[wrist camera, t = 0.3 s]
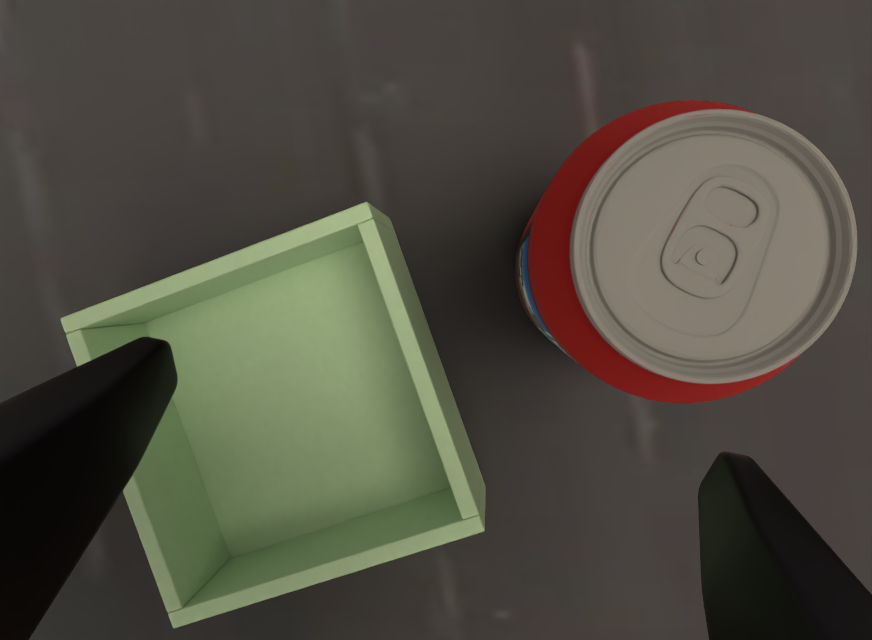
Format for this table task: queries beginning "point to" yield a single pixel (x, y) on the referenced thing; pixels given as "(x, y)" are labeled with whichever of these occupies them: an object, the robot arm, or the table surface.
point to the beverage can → (688, 251)
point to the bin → (291, 418)
